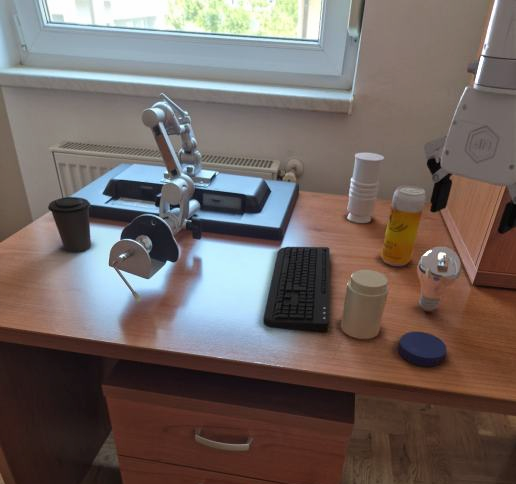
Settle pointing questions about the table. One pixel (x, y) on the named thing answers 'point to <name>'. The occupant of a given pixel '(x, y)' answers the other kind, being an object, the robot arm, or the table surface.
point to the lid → (422, 349)
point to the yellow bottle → (403, 225)
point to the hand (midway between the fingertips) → (469, 220)
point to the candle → (364, 186)
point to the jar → (364, 304)
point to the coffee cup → (72, 222)
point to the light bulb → (436, 275)
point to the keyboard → (299, 290)
